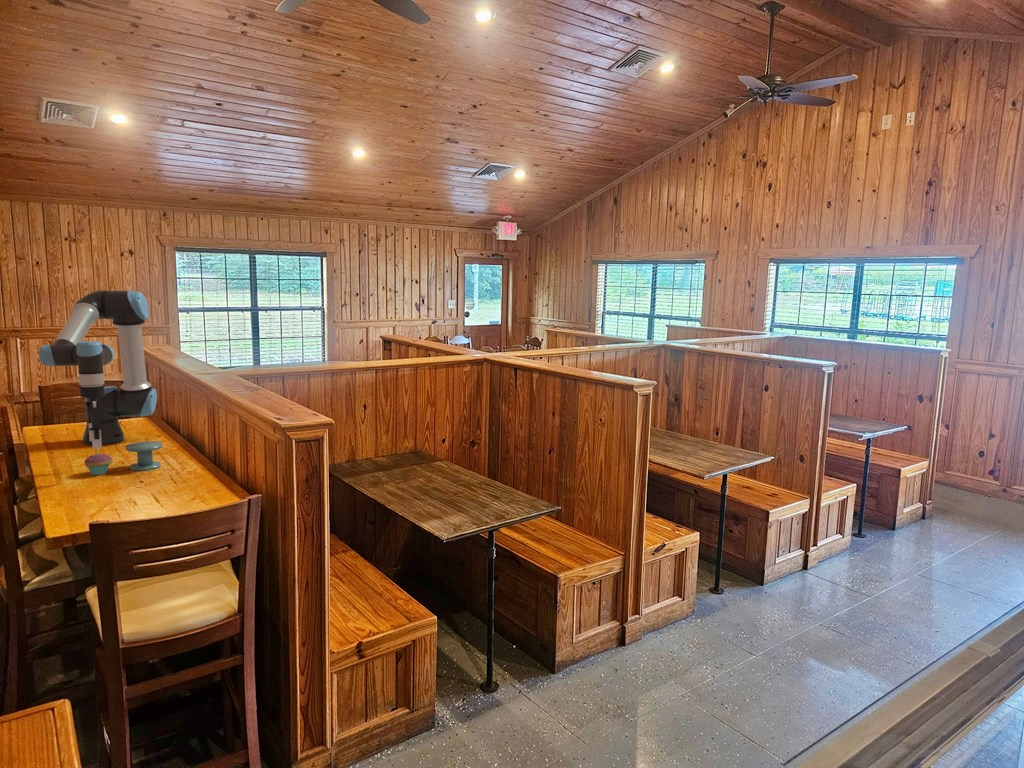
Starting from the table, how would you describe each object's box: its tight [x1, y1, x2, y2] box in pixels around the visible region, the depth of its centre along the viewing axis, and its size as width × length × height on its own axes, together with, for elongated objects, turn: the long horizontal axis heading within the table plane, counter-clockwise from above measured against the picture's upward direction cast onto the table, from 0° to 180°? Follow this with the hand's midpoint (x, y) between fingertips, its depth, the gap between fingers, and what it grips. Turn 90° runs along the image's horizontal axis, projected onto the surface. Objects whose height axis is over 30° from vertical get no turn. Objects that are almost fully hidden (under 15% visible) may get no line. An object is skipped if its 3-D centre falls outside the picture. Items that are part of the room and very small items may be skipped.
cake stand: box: [125, 440, 164, 472], centre depth 242 cm, size 12×12×8 cm
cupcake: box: [84, 448, 113, 476], centre depth 233 cm, size 9×8×12 cm
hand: (95, 444), depth 232 cm, fingers open, 13 cm apart
